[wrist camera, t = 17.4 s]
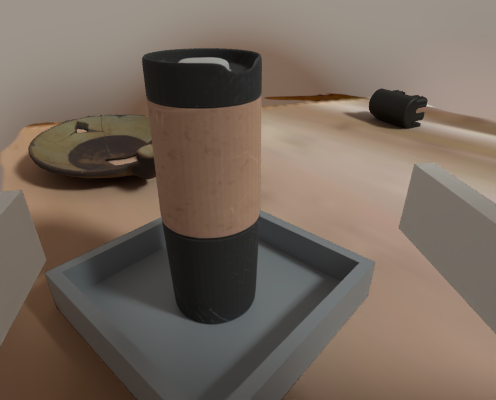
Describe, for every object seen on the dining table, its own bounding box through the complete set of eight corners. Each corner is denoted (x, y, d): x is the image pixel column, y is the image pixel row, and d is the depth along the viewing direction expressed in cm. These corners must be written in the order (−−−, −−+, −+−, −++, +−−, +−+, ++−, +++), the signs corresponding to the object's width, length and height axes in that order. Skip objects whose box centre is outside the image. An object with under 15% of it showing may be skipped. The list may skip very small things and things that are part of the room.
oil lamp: (164, 133, 74) (159, 95, 70) (208, 199, 50) (206, 147, 46) (42, 148, 66) (30, 106, 62) (25, 235, 42) (4, 175, 38)
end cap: (365, 119, 83) (370, 89, 80) (387, 115, 86) (393, 86, 83) (400, 131, 76) (407, 99, 72) (422, 127, 79) (430, 95, 75)
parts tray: (218, 218, 45) (216, 190, 43) (367, 295, 34) (375, 262, 32) (56, 307, 32) (44, 272, 30) (210, 484, 20) (207, 445, 19)
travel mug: (181, 265, 36) (157, 47, 26) (258, 267, 35) (263, 48, 26) (162, 326, 29) (121, 62, 19) (257, 329, 29) (263, 63, 19)
